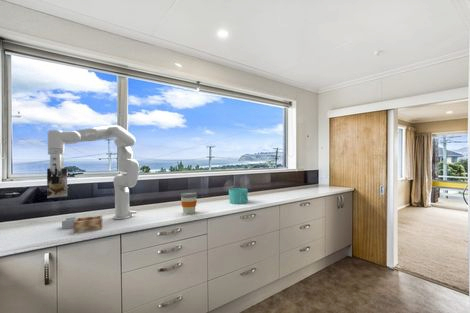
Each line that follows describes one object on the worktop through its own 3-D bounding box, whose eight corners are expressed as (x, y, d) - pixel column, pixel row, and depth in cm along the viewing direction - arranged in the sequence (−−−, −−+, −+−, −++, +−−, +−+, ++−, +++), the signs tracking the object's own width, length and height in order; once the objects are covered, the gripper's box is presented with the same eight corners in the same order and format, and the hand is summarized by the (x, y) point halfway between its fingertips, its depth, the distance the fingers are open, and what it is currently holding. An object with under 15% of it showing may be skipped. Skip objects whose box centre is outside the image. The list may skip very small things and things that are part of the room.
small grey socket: (78, 224, 151) (78, 216, 151) (76, 227, 145) (76, 219, 145) (64, 225, 148) (64, 218, 148) (61, 229, 141) (61, 220, 141)
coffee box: (46, 198, 126) (46, 168, 125) (47, 196, 131) (47, 168, 130) (67, 196, 131) (67, 168, 131) (67, 194, 136) (67, 167, 136)
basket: (227, 201, 226) (227, 188, 226) (245, 200, 230) (245, 187, 230) (230, 204, 207) (230, 190, 208) (250, 203, 211) (250, 189, 211)
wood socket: (102, 224, 150) (102, 215, 150) (101, 229, 140) (101, 219, 140) (76, 227, 143) (76, 218, 143) (73, 232, 133) (73, 222, 133)
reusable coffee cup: (200, 211, 184) (200, 192, 184) (190, 214, 172) (190, 194, 172) (187, 210, 189) (187, 191, 189) (177, 213, 178) (177, 194, 178)
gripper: (61, 151, 125) (61, 184, 125) (67, 152, 140) (67, 181, 140) (43, 151, 121) (44, 185, 121) (51, 152, 137) (52, 182, 137)
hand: (56, 182), depth 131 cm, fingers closed on coffee box, 7 cm apart
